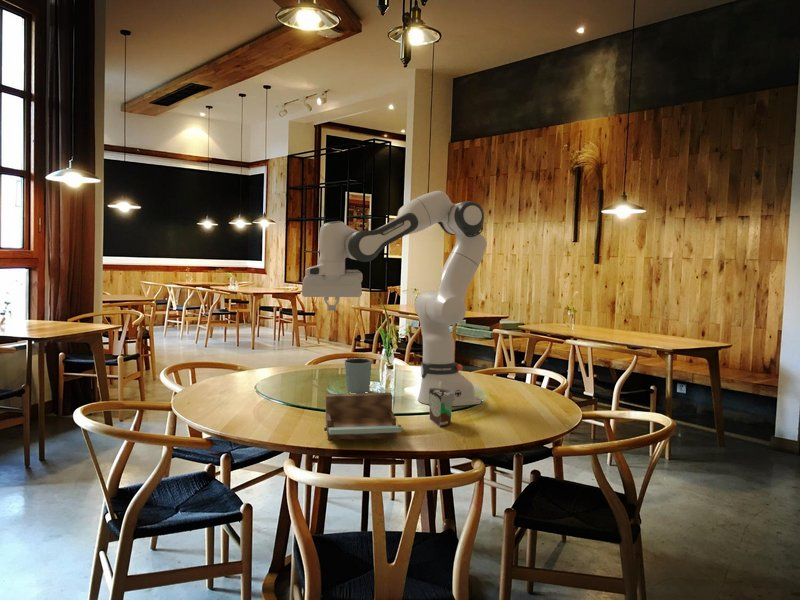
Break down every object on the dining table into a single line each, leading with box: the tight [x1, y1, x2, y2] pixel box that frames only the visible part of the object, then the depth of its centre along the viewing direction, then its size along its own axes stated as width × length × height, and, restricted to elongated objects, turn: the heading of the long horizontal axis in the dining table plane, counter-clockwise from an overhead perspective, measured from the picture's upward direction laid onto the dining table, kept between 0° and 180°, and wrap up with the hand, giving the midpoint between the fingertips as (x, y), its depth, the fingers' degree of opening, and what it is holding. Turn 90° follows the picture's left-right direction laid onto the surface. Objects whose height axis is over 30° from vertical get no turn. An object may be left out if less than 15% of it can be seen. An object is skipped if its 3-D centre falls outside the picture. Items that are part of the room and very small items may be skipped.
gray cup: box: [344, 357, 373, 393], centre depth 246 cm, size 10×10×12 cm
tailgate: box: [329, 425, 403, 435], centre depth 183 cm, size 20×2×9 cm
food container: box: [429, 388, 455, 428], centre depth 206 cm, size 12×6×10 cm, turn 17°
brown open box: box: [323, 392, 402, 440], centre depth 194 cm, size 22×14×10 cm, turn 99°
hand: (331, 310), depth 222 cm, fingers closed
